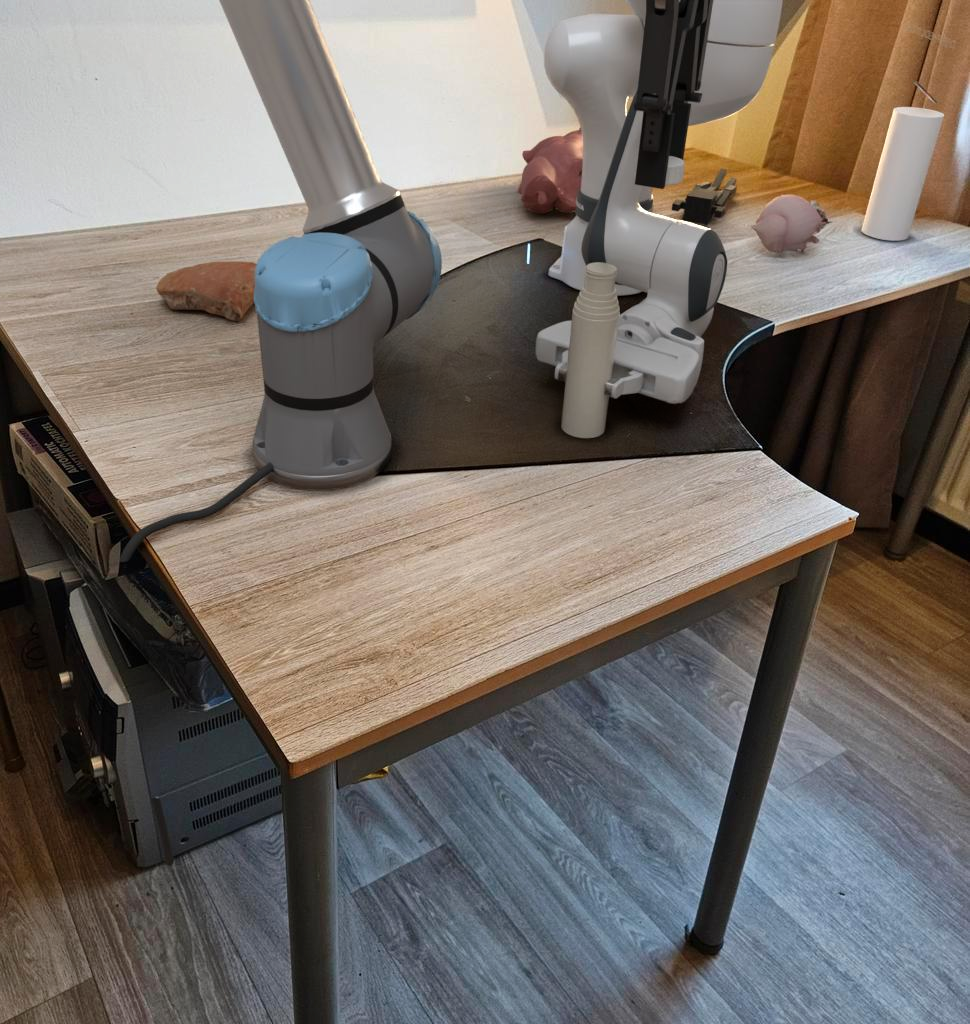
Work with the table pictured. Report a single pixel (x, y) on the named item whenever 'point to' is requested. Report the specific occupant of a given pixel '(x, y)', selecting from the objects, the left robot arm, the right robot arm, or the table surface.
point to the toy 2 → (789, 223)
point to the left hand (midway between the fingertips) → (658, 179)
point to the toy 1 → (706, 200)
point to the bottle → (591, 353)
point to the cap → (672, 170)
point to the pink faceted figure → (553, 174)
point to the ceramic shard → (211, 288)
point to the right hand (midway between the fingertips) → (585, 383)
